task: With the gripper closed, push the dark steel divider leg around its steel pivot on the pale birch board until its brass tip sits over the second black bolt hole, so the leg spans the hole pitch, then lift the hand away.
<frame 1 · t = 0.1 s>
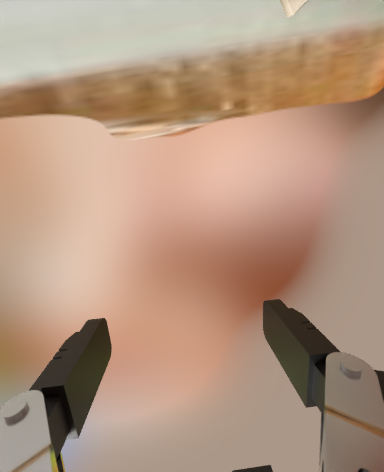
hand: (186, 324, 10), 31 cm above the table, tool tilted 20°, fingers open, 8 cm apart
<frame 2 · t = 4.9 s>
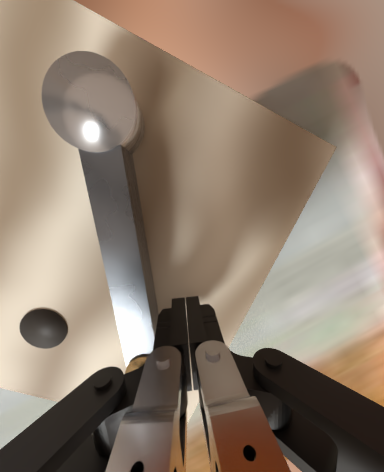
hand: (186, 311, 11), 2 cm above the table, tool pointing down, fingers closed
divider leg: (125, 245, 10), point 3 cm above the table, hinge at 29.9°, touching gripper
hole board: (116, 250, 13), on the table
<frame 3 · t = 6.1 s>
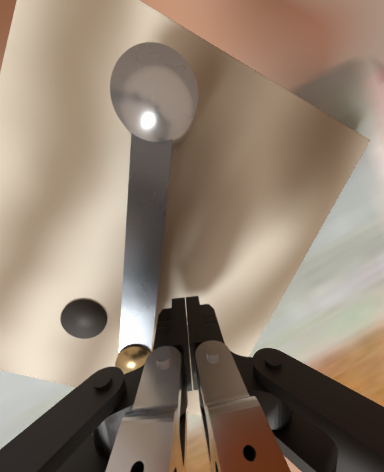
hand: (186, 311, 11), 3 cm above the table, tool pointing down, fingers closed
divider leg: (146, 235, 10), point 3 cm above the table, hinge at 16.3°, touching gripper
hole board: (152, 242, 13), on the table
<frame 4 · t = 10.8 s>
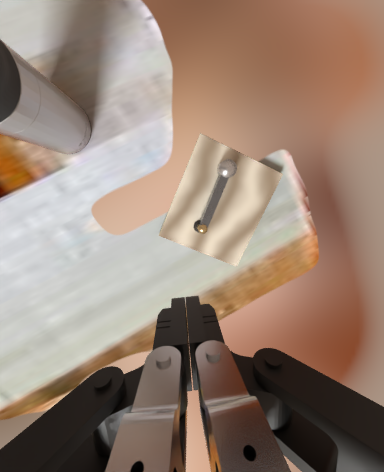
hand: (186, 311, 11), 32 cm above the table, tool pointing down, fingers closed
divider leg: (214, 197, 39), point 3 cm above the table, hinge at 1.5°
hole board: (218, 204, 42), on the table
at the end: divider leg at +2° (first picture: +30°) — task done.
